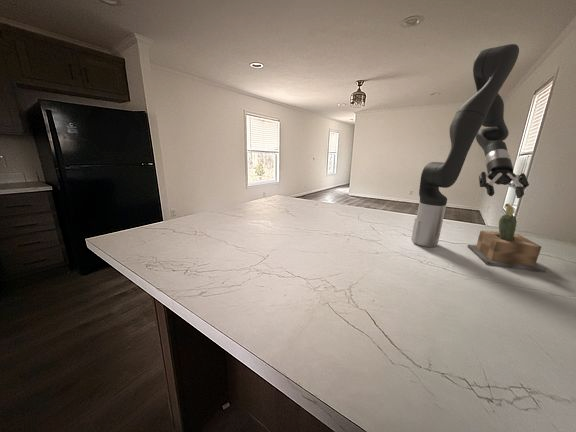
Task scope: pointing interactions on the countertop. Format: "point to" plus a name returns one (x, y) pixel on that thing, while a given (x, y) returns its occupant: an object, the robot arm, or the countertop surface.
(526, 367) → the countertop surface
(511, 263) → the holder
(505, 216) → the vegetable
